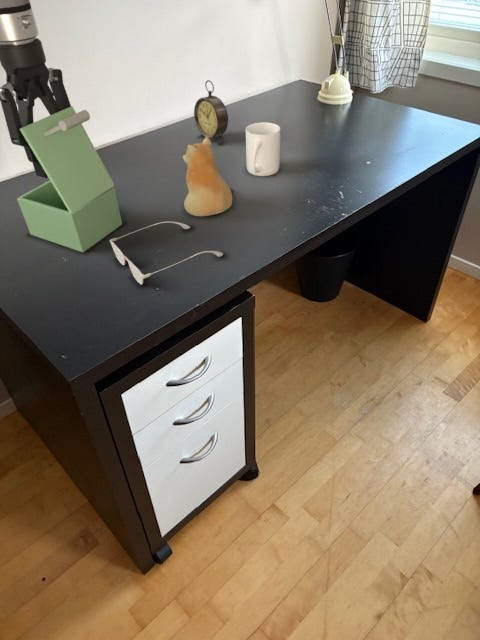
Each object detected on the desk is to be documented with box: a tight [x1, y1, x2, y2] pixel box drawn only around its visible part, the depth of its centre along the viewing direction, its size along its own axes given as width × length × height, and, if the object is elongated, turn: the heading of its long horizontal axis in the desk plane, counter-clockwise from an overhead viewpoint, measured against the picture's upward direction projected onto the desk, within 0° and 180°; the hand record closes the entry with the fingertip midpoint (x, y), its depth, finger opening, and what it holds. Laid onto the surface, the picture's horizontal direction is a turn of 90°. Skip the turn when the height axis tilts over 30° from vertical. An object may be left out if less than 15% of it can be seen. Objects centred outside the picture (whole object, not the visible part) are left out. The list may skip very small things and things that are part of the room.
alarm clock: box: [193, 79, 229, 145], centre depth 136 cm, size 11×5×16 cm, turn 42°
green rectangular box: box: [16, 179, 123, 253], centre depth 103 cm, size 16×13×9 cm
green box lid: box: [20, 105, 115, 213], centre depth 90 cm, size 17×13×8 cm
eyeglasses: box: [109, 220, 224, 285], centre depth 95 cm, size 15×18×4 cm
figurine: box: [182, 137, 233, 217], centre depth 107 cm, size 12×13×15 cm
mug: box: [245, 122, 281, 177], centre depth 120 cm, size 9×12×11 cm
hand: (56, 168), depth 96 cm, fingers closed on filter, 7 cm apart
